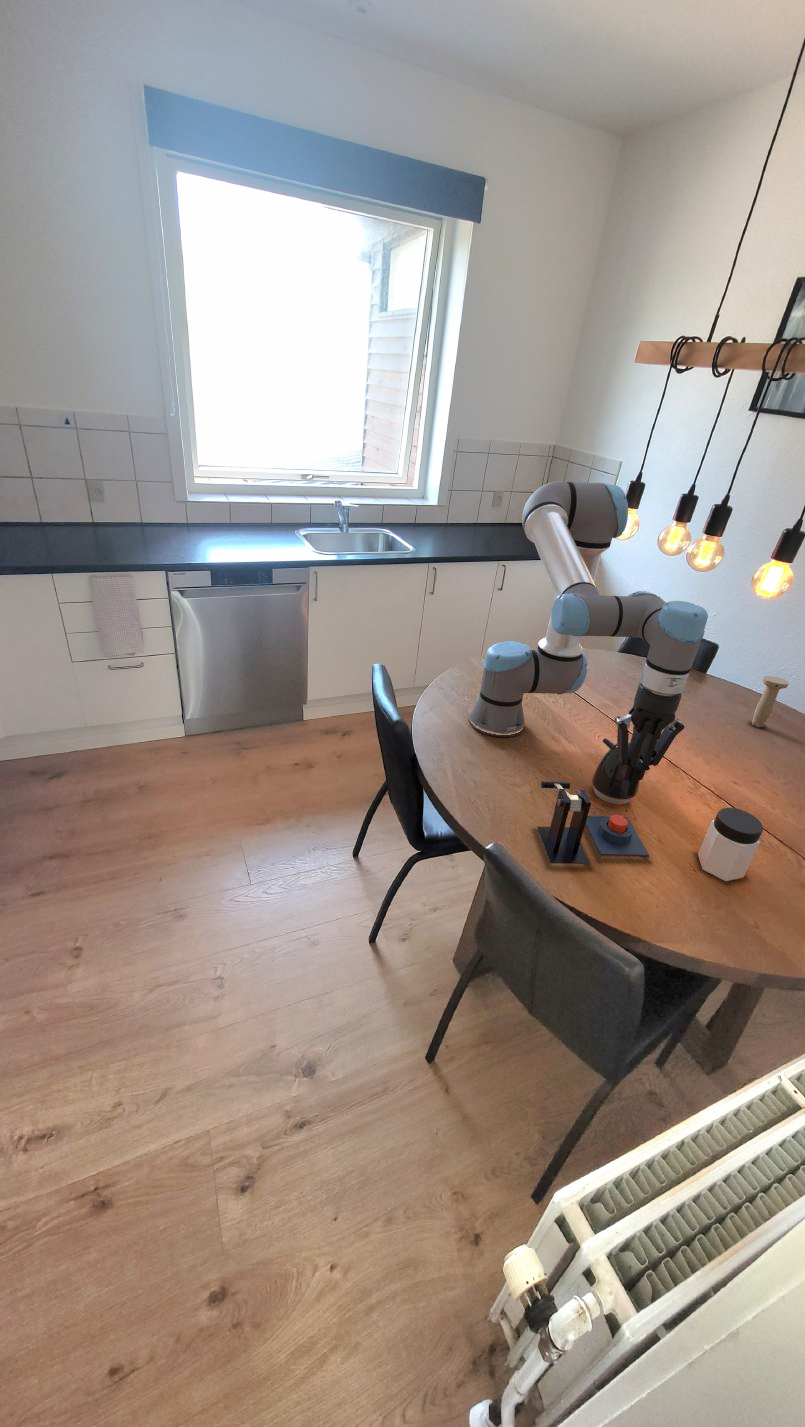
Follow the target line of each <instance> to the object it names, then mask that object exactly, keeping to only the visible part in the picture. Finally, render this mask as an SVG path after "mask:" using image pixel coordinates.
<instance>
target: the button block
mask: <svg viewBox="0 0 805 1427" xmlns="http://www.w3.org/2000/svg"><path fill="white" fill-rule="evenodd" d="M611 816H612V815H609V816H607V815H588V817H587V820H586V824H585V827H586V829H587V830H588V832H589V834H590V837H591V839H592V841H593V843H594V845H595V847H596V849H597V851H598V853H599V856H604V857H606V856H607V857H610V856H611V857H650V854H649V852H648V850H647V848H646V847H645V845H644V843H643V841H642V840H641V838H640V837H639V835H638V833H637V832H636V830H635V828H634V827H633V825H632V823H631V822H630V820H629V818H628V817H627V816H623V817H624V818H626V819H627V821H628V825H627V828H626V831H625V832H624V833H617V832H614V831H612V830H611V829H609V828H608V823H609V820H610V817H611Z"/></svg>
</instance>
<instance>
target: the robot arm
mask: <svg viewBox="0 0 805 1427" xmlns="http://www.w3.org/2000/svg"><path fill="white" fill-rule="evenodd" d="M628 520H629V504H628V500H627V495H626V493H625V491H624V490H623V488H621V486H619V485H616V484H610V483H605V482H587V481H586V482H585V481H566V480H556V481H555V480H554V481H551V482H548V483H545V484H543V485H541V486H540V487H539V488H537V489H536V490H535V491H534V492H533V493H532V494H531V495H530V496H529V498H528V499H527V501H526V502H525V505H524V507H523V510H522V515H521V524H522V529H523V531H524V534H525V536H526V538H527V539H528V540H529V541H530V542H531V543H533V544H534V545H535V549H536V551H537V553H538V557H539V558H540V561H541V563H542V566H543V568H544V571H545V573H546V576H547V579H548V581H549V584H550V586H551V588H552V591H553V593H554V598H553V603H552V605H551V611H550V616H549V621H548V626H547V630H546V634H545V637H543V638H541V639H540V640H539V641H538V644H537V649H532V648H531V647H530V645H528V644H527V643H525V642H518V641H514V640H509V641H506V640H505V641H501V642H497V643H494V644H492V646H490V647H489V648H488V649H487V650H486V653H485V658H484V661H483V665H482V666H483V670H482V676H481V682H480V689H479V690H480V691H479V696H478V697H477V700H476V701H475V704H474V705H473V707H472V709H471V711H470V714H469V720H468V721H469V724H470V726H471V727H472V728H473V729H474V730H476V731H477V732H478V733H480V734H483V735H485V736H489V737H494V738H512V737H513V738H514V737H516V736H519V735H520V734H522V733H523V731H524V728H525V715H524V708H523V698H524V694H555V695H565V694H573V693H575V692H577V691H578V690H580V689H581V687H582V686H583V684H584V683H585V680H586V677H587V674H588V668H587V667H588V659H587V655H586V654H585V653H584V648H583V647H582V645H581V644H580V640H581V637H612V638H613V637H614V638H615V637H616V638H640V639H642V640H643V641H644V642H645V643H646V644H648V645H649V650H648V653H647V656H646V659H645V662H644V665H643V669H642V672H641V675H640V679H639V682H640V683H638V686H637V689H636V692H635V696H634V699H633V705H632V707H631V708H630V709H629V711H628V714H626V715H624V716H622V717H621V716H619V715H617V716H615V718H614V722H615V724H616V727H617V731H616V733H617V736H616V738H617V739H616V740H617V741H616V744H617V757H618V759H619V761H620V762H621V764H622V765H624V768H623V771H622V776H623V778H624V780H623V783H622V787H621V788H622V789H623V791H624V793H625V794H626V796H634V793H635V790H636V787H637V784H638V780H640V781H642V780H643V779H644V777H645V773H646V772H647V771H650V770H651V768H650V766H653V767H656V766H659V763H660V762H661V760H662V759H663V757H664V756H665V754H666V753H667V751H668V750H669V748H670V747H671V745H672V744H673V741H674V740H675V739H676V737H677V736H678V735H679V734H680V733H681V732H682V731H684V729H685V725H684V723H682V721H681V720H680V719H679V718H676V712H677V711H678V709H679V705H680V703H681V700H682V697H683V694H682V693H683V692H684V690H685V686H686V685H687V682H688V678H689V675H690V673H691V669H692V667H693V666H694V665H693V664H694V662H695V659H696V657H697V654H698V651H699V648H700V646H701V642H702V640H703V638H704V636H705V629H706V625H707V622H708V619H709V614H708V611H707V610H706V608H704V607H702V606H700V605H698V604H697V605H696V604H695V603H694V602H693V603H692V602H688V601H685V600H671V601H665V600H664V599H663V598H661V596H658V595H657V594H655V593H652V592H650V591H647V590H638V591H634V592H633V593H630V594H629V595H626V596H624V595H602V594H600V592H599V590H598V588H597V586H596V584H595V580H596V577H597V574H598V573H597V572H598V569H599V565H600V561H601V557H602V554H603V553H604V552H605V551H607V550H609V549H611V548H610V547H611V544H612V541H613V539H617V538H619V537H621V536H622V535H623V533H624V532H625V530H626V527H627V524H628ZM470 719H471V721H472V722H473V723H474V724H475V725H476V726H479V728H481V729H484V730H487V731H491V732H494V733H500V734H501V733H502V734H509V733H515V732H517V731H520V730H521V729H522V728H523V727H524V728H523V729H522V730H521V731H520V732H518V733H515V734H511V735H496V734H491V733H487V732H484V731H482V730H480V729H478V728H476V727H475V726H474V725H473V724H472V723H471V721H470ZM631 724H632V725H633V728H632V734H631V738H630V742H629V735H630V734H629V733H630V732H629V729H630V728H631ZM628 742H629V743H630V744H629V748H628ZM637 760H638V762H637ZM634 797H635V796H634Z"/></svg>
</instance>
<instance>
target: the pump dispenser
mask: <svg viewBox="0 0 805 1427" xmlns="http://www.w3.org/2000/svg"><path fill="white" fill-rule="evenodd" d="M602 743H603V744H604V745H605V746H607V747H608V748H609V749H608V750H607V751H606V752H605V753H604V755H603V756H602V758H601V759H600V761H599V763H598V764H597V766H596V769H595V770H594V772H593V775H592V779H591V783H592V788H593V792H594V794H595V796H596V797H597V798H599V799H600V800H601V801H603V802H605V803H608V804H612V805H616V806H617V805H619V806H621V805H622V806H623V805H626V804H628V803H630V802H631V801H632V800H633V799H634V797H636V796H637V794H638V792H639V788H640V783H641V780H638V784H637V787H636V790H635V793H634V796H626V794H625V793H624V791H623V789H622V788H621V787H622V783H623V780H624V778H623V776H622V771H623V768H624V765H622V764H621V762H620V761H619V759H618V757H617V743H613V742H612V741H611V740H610V739H608V738H607V737H603V739H602ZM629 744H630V742H629V741H628V748H629ZM637 762H638V760H637Z"/></svg>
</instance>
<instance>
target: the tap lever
mask: <svg viewBox="0 0 805 1427" xmlns="http://www.w3.org/2000/svg"><path fill="white" fill-rule="evenodd" d="M540 787H541V789H554V790H555V791H556V792H557V793H558V794H559V790H560V789H565V791H566V793H567V795H568V797H569V799H570V802H571V804H570V808H569V812H574V811H581V804H582V800H581V799H580V798H579V797H578V794H577V795H576V794H570V793H569V791H567V790H569V789H571V782H569V781H545V780H544V781H541V782H540Z"/></svg>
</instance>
